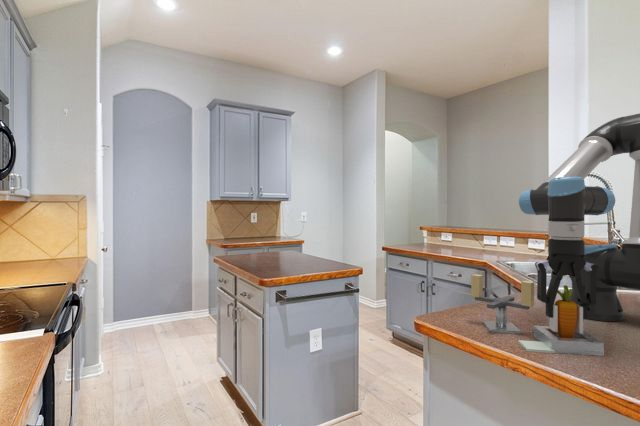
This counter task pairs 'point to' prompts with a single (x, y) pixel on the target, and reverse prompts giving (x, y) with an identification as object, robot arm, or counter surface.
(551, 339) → the gray square frame
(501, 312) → the square base pedestal
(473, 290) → the handwheel
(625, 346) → the counter surface
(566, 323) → the carrot
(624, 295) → the counter surface
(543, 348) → the pad
